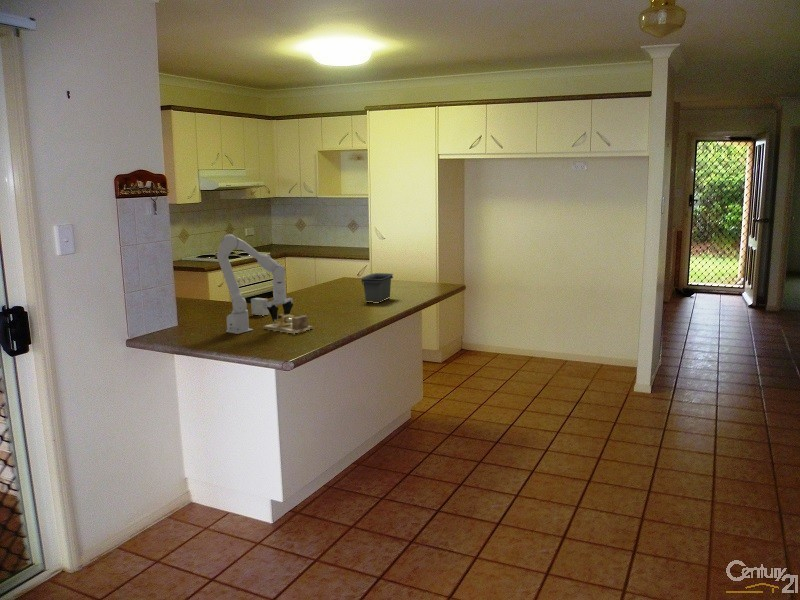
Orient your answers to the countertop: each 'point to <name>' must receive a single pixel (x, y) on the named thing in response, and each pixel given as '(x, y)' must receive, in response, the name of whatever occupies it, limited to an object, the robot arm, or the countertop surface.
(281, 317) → the wing nut
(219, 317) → the countertop surface
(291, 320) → the threaded rod
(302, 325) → the beige blocky piece
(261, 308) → the medicine box
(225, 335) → the countertop surface
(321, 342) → the countertop surface
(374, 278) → the storage bin
